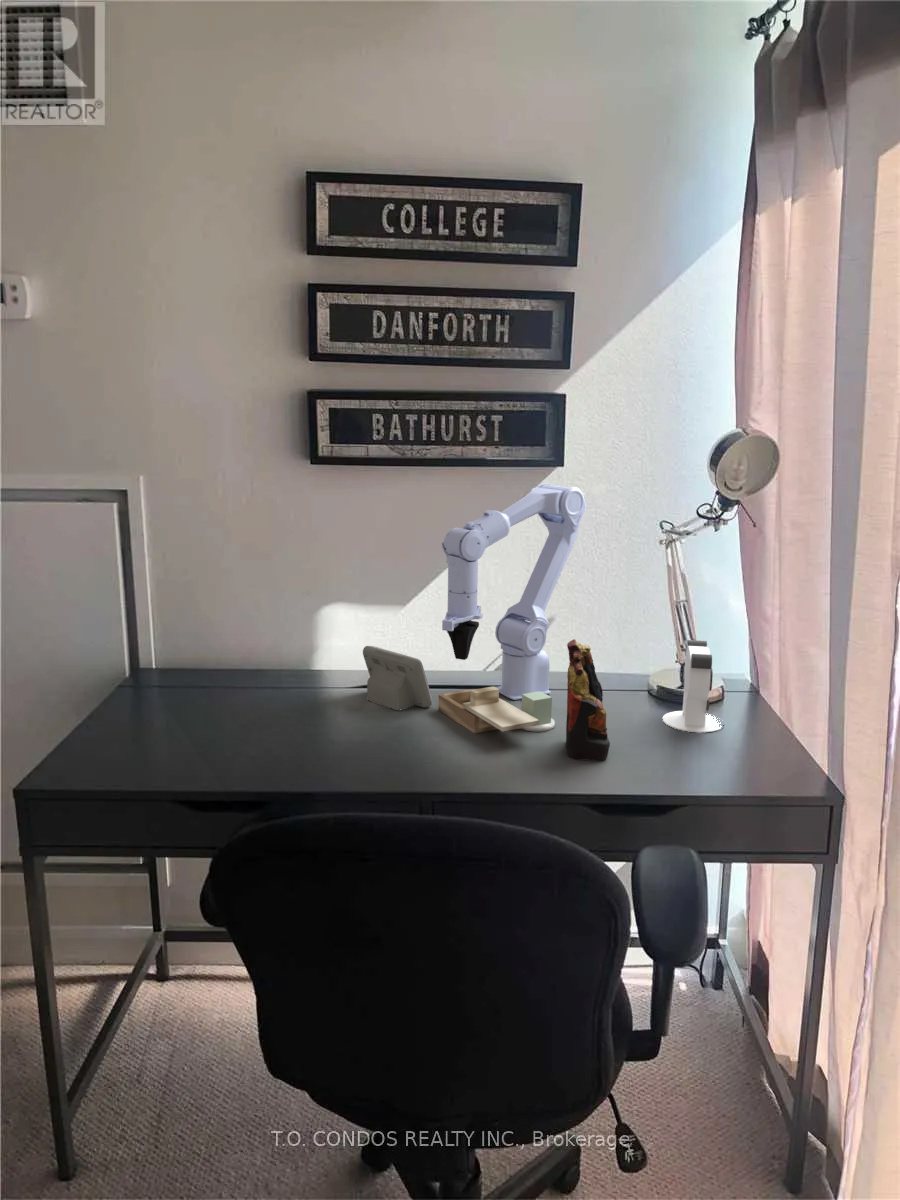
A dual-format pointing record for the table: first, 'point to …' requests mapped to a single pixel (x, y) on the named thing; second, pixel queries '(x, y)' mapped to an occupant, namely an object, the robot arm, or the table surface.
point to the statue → (584, 707)
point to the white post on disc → (695, 692)
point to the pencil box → (462, 711)
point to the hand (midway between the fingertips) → (461, 658)
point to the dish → (541, 727)
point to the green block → (537, 706)
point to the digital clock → (395, 679)
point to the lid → (497, 710)
